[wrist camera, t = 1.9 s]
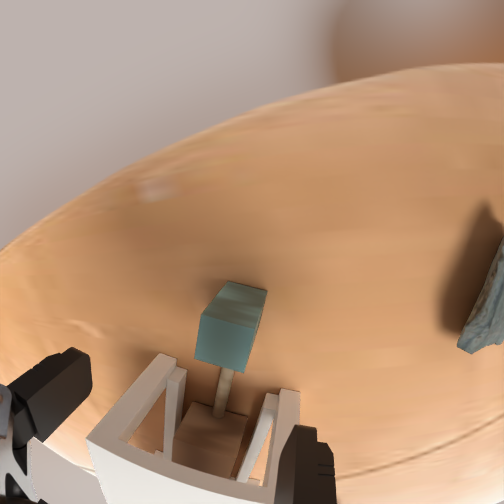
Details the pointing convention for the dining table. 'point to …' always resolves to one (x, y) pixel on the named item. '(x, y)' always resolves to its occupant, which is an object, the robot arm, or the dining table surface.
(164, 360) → the white open frame stand
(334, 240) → the dining table surface
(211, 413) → the tethered block
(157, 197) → the dining table surface
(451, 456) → the dining table surface
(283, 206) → the dining table surface
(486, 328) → the stone
